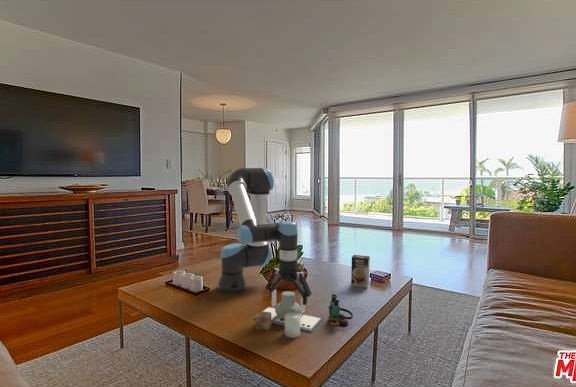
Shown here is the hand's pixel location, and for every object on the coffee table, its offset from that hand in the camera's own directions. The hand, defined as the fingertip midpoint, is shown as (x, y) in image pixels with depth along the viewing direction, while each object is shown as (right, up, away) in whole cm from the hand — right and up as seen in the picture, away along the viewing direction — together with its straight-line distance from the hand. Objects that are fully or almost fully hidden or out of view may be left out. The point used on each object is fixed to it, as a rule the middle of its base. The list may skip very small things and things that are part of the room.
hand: (288, 308), depth 135 cm
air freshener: (0, -4, 0) cm, 4 cm away
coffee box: (+40, -2, +43) cm, 58 cm away
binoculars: (+22, -5, -2) cm, 22 cm away
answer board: (0, -5, 0) cm, 5 cm away
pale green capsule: (+2, -5, -12) cm, 13 cm away
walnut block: (-10, -5, -6) cm, 13 cm away
